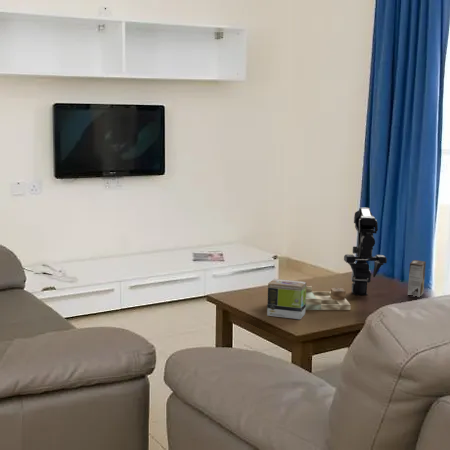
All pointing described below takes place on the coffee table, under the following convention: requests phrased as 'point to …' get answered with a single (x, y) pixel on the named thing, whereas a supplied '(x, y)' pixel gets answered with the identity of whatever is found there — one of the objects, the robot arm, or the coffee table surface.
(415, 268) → the coffee box
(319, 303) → the board
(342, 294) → the walnut block
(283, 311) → the tea box
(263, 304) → the coffee table surface
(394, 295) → the coffee table surface
